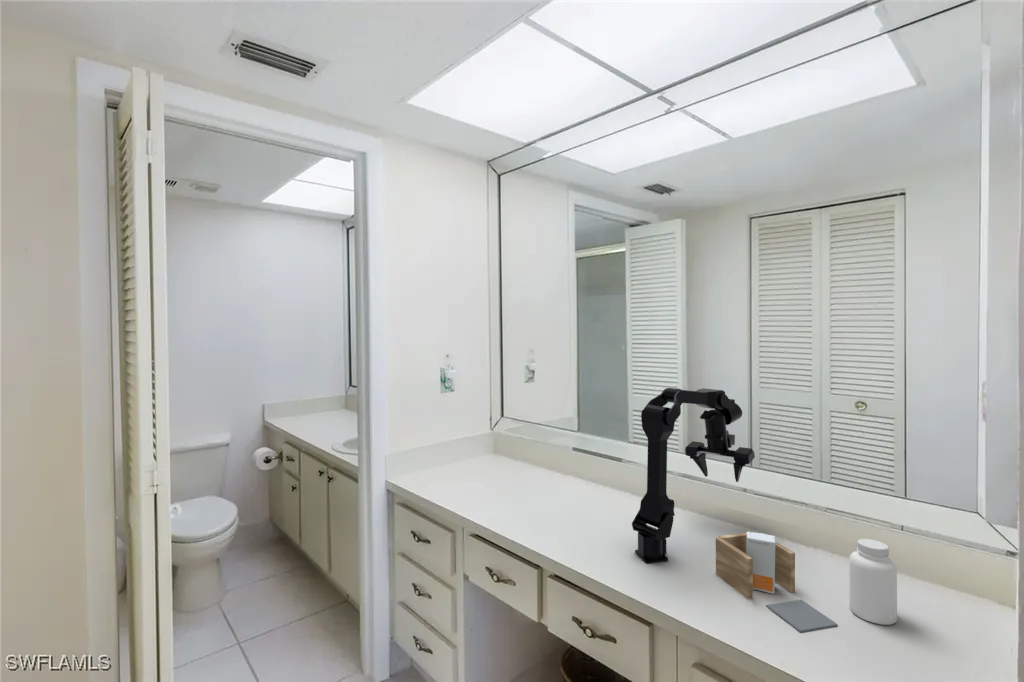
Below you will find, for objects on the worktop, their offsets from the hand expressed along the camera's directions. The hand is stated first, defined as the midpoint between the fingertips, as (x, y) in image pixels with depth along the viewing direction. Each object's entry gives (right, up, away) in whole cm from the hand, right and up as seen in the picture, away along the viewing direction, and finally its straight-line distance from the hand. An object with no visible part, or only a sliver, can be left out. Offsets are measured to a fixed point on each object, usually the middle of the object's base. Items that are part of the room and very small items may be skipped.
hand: (721, 478), depth 144 cm
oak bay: (-6, -15, -32) cm, 36 cm away
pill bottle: (+12, -16, -45) cm, 49 cm away
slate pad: (-3, -16, -45) cm, 48 cm away
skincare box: (-6, -16, -34) cm, 38 cm away
